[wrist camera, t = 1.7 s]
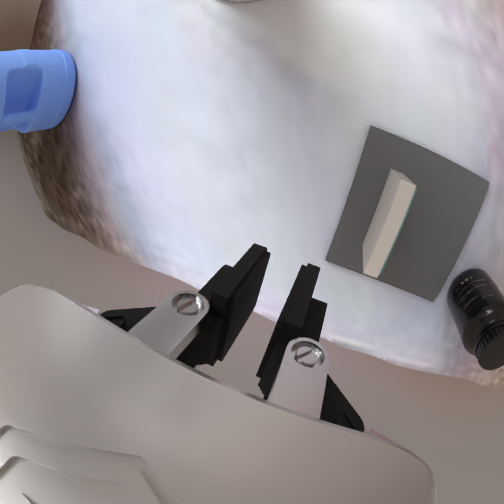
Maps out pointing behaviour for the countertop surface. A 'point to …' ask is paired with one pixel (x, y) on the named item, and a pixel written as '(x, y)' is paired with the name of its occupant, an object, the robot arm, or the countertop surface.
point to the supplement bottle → (479, 316)
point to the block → (387, 222)
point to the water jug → (35, 88)
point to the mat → (410, 214)
